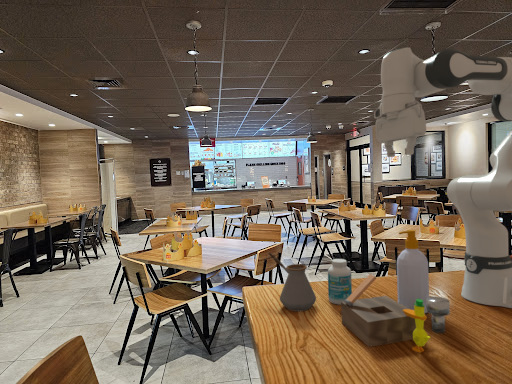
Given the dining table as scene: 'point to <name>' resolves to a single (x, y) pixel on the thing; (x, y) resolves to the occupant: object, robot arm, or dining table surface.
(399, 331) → the brown square block
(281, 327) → the dining table surface
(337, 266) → the pill bottle
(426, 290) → the soap bottle
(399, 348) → the dining table surface
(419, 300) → the toy figure
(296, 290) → the coffee pot
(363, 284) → the bar
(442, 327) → the steel pin
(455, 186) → the robot arm
